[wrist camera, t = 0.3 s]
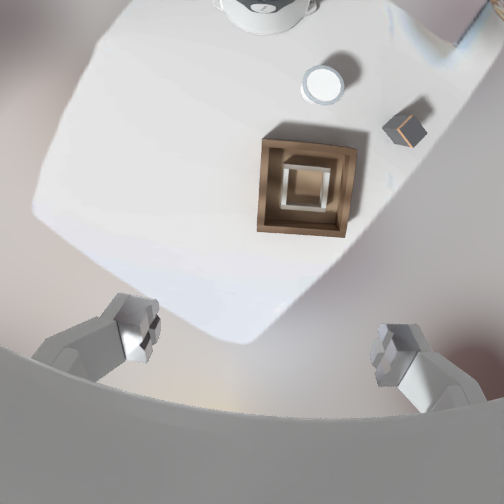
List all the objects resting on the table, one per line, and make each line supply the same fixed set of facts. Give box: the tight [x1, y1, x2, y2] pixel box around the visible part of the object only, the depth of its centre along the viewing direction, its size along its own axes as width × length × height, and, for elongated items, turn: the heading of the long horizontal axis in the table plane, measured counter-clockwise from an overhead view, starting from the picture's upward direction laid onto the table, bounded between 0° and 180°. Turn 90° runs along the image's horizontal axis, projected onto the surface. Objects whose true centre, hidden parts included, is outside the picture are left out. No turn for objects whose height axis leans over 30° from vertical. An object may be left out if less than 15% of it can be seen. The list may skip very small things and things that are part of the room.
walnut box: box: [257, 138, 357, 238], centre depth 52 cm, size 16×16×5 cm
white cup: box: [300, 65, 345, 106], centre depth 44 cm, size 7×7×7 cm
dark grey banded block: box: [382, 115, 427, 148], centre depth 45 cm, size 4×4×8 cm
